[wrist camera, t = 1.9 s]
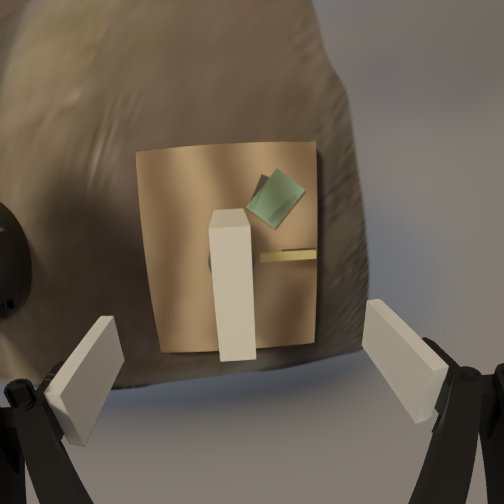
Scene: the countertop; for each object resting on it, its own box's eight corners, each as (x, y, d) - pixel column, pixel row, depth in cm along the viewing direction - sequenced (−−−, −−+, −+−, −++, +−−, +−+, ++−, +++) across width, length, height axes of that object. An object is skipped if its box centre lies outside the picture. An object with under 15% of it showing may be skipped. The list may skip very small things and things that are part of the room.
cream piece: (213, 302, 30) (208, 361, 21) (205, 207, 28) (194, 229, 18) (311, 295, 31) (345, 348, 21) (312, 202, 28) (353, 221, 19)
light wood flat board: (163, 345, 33) (160, 353, 31) (140, 152, 27) (135, 151, 26) (310, 335, 34) (314, 343, 32) (311, 143, 28) (316, 141, 27)
